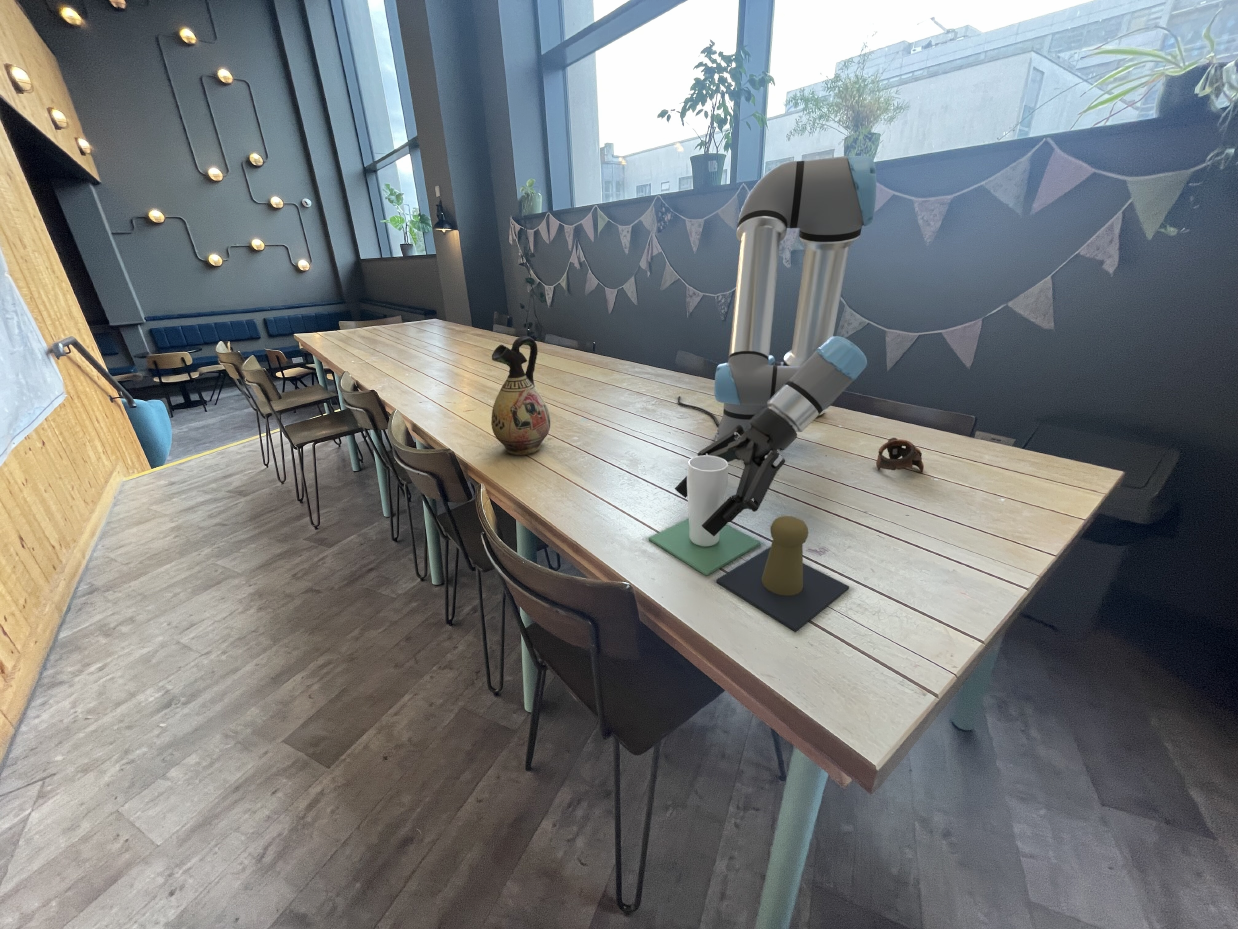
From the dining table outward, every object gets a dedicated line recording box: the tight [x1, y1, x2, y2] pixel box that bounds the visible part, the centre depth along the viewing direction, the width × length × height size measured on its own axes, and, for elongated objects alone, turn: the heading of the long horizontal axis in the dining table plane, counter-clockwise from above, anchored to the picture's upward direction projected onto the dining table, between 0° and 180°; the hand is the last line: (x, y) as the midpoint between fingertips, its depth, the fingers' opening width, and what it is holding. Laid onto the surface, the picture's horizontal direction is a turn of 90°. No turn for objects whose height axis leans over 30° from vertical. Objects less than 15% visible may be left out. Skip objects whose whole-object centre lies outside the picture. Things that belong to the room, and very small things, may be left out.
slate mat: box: [715, 546, 850, 632], centre depth 72 cm, size 14×14×1 cm
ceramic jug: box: [490, 335, 551, 456], centre depth 123 cm, size 17×15×30 cm
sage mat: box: [648, 518, 762, 577], centre depth 84 cm, size 14×14×1 cm
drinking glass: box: [686, 454, 729, 547], centre depth 81 cm, size 7×7×15 cm
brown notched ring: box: [875, 437, 925, 473], centre depth 109 cm, size 12×10×8 cm
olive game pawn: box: [762, 515, 809, 596], centre depth 70 cm, size 6×6×11 cm
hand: (692, 511), depth 81 cm, fingers open, 13 cm apart
